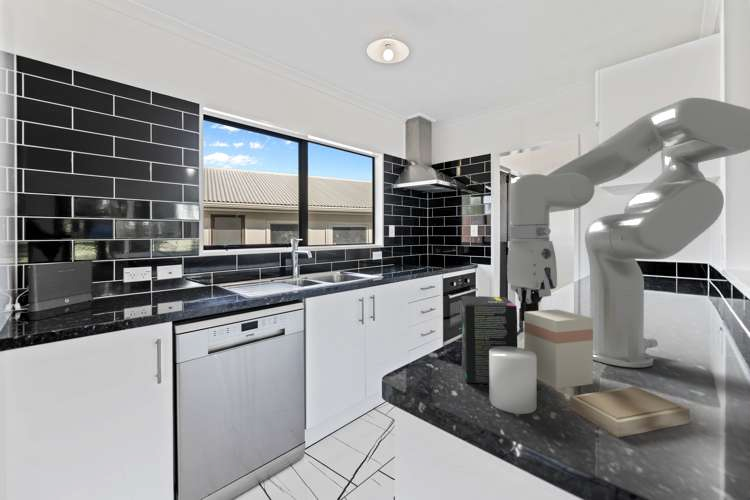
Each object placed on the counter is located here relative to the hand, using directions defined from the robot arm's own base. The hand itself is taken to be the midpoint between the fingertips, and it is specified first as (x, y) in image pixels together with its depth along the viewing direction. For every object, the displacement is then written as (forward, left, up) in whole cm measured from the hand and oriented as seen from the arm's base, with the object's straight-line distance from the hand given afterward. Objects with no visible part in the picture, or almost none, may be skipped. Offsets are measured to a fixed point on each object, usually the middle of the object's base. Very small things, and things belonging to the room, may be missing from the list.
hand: (529, 320), depth 68 cm
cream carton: (0, +7, -9) cm, 12 cm away
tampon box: (+12, +2, -9) cm, 15 cm away
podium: (+1, +21, -9) cm, 23 cm away
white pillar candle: (+15, +13, -9) cm, 22 cm away
